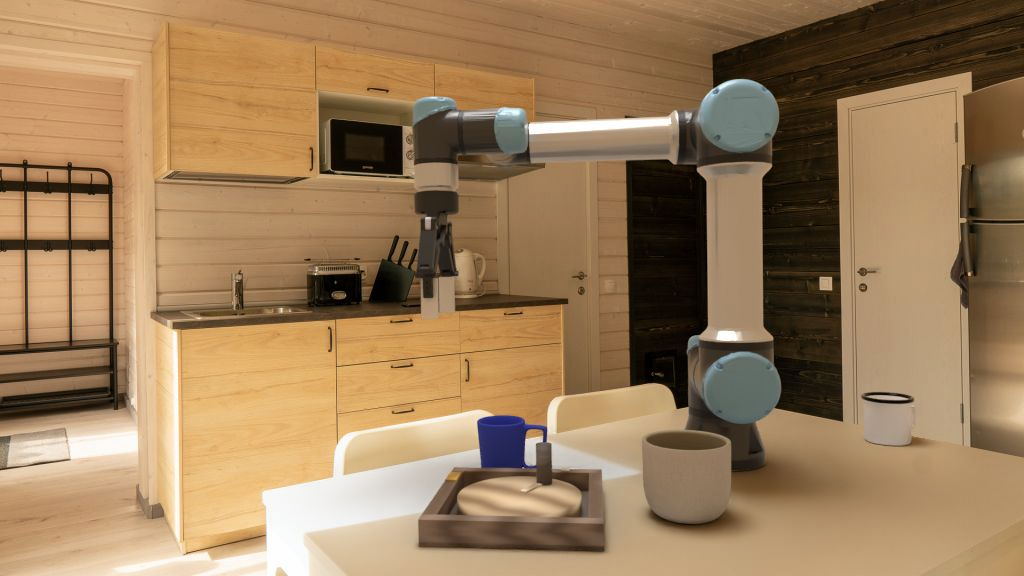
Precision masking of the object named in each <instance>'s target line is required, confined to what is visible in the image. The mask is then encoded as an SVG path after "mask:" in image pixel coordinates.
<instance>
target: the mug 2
mask: <svg viewBox="0 0 1024 576" xmlns="http://www.w3.org/2000/svg"><path fill="white" fill-rule="evenodd" d="M860 398H861V399H862V400H863V439H864V440H865V441H867V442H869V443H871V444H874V445H880V446H888V447H903V446H907V445H910V444H911V443H912V429H914V428H915V427H916V424H917V408H916V406H915V405H913V404H912V403H914V402H915V397H914V396H913V395H908V394H905V393H900V392H899V393H898V392H889V391H869V392H864V393H861V395H860Z"/></svg>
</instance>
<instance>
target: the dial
mask: <svg viewBox="0 0 1024 576" xmlns="http://www.w3.org/2000/svg"><path fill="white" fill-rule="evenodd" d="M552 456H553V450H552V443H551V442H548V441H547V442H543V441H541V442H537V443H535V465H536V477H533V476H513V477H501V478H494V479H488V480H484V481H480V482H476V483H474V484H471V485H469V486H467V487H465V488H463V489H462V490H461V491H460V492H459V493H458V496H457V505H458V515H479V516H526V517H573V518H580V516H581V514H582V495H581V492H580V490H579V489H578V488H576V487H575V486H573V485H571V484H569V483H566V482H563V481H560V480H556V479H552V469H553V457H552Z"/></svg>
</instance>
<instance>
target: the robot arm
mask: <svg viewBox="0 0 1024 576" xmlns="http://www.w3.org/2000/svg"><path fill="white" fill-rule="evenodd" d="M702 99H703V100H702V101H701V103H700V106H697V107H693V108H688V109H675V110H673V111H672V112H671V113H670V114H668V116H650V117H626V118H624V117H623V118H621V117H620V118H602V119H601V118H600V119H598V118H597V119H580V120H579V119H578V120H577V119H576V120H554V121H552V120H551V121H533V122H531V121H530V122H529V121H528V116H527V113H526V110H525V109H523V108H521V107H520V108H519V107H516V108H515V107H507V106H505V107H504V106H503V107H501V108H500V107H499V108H484V109H483V108H482V109H480V108H479V109H462V110H461V109H459V108H458V106H457V102H456V100H454V99H453V98H450V97H446V96H426V97H422V98H421V97H420V98H419V99H417V100H416V101H415V102H414V103H413V107H412V108H413V109H412V125H411V130H412V144H413V145H412V147H413V172H411V173H410V177H411V179H414V180H413V185H414V186H413V187H414V188H413V189H415V190H416V191H417V192H415V194H414V195H413V196H414V197H413V198H414V199H413V200H414V201H413V203H414V213H415V214H416V215H418V216H422V217H420V221H419V222H420V232H419V233H420V234H419V243H418V253H417V262H416V269H415V271H414V279H420V280H419V281H420V312H421V313H420V315H421V316H420V318H421V319H422V320H425V319H426V320H435V319H436V320H437V319H439V318H440V317H439V316H440V315H439V314H455V313H456V301H455V300H456V299H455V297H456V296H455V295H456V294H455V288H456V287H455V277H459V271H460V270H457V264H456V255H455V246H454V245H455V244H454V238H453V223H452V221H448V218H447V217H448V216H451V215H452V216H453V215H457V214H459V211H460V208H459V207H460V206H459V205H460V203H459V201H460V200H459V197H460V196H459V193H458V192H457V191H456V190H457V189H459V187H460V186H459V185H460V184H459V183H460V182H459V164H458V162H459V161H458V160H459V159H458V157H459V156H477V155H478V156H485V157H486V159H487V160H488V161H490V163H492V164H493V165H495V166H496V167H500V168H511V167H514V166H516V165H529V164H552V163H553V164H555V163H557V164H558V163H583V162H586V163H587V162H614V161H645V160H647V161H649V160H669V162H671V163H672V164H673V165H696V171H697V173H699V175H700V176H701V177H703V179H704V180H705V181H706V240H707V241H706V245H707V247H706V249H707V250H706V251H707V253H706V254H707V262H706V263H707V327H706V329H705V330H704V331H702V333H701V334H698V335H693V336H691V337H690V338H688V342H687V349H686V355H687V374H688V375H687V377H688V378H687V384H688V385H687V387H688V389H687V396H688V397H687V398H688V415H687V416H688V417H687V421H686V424H685V427H684V430H695V431H704V432H710V433H715V434H718V435H722V436H724V437H726V438H728V439H729V440H730V441H731V472H740V471H750V470H754V469H756V470H757V469H759V468H761V467H763V466H765V465H766V449H765V446H764V443H763V439H762V436H761V435H760V431H759V428H758V425H757V422H758V421H760V420H762V419H764V418H766V417H767V416H768V415H770V413H772V411H773V410H775V407H776V406H777V404H778V403H779V400H780V398H781V394H782V383H781V382H782V381H781V377H780V374H779V373H778V370H777V368H776V367H775V363H774V361H775V360H774V359H775V358H774V356H775V355H774V351H775V350H774V337H773V335H771V333H770V332H769V331H767V329H766V328H765V327H764V279H763V278H764V275H763V274H764V271H763V270H764V268H763V267H764V266H763V265H764V264H763V263H764V262H763V259H764V258H763V257H764V256H763V252H764V251H763V250H764V249H763V248H764V247H763V177H764V176H765V175H766V174H767V173H768V172H769V171H770V170H771V168H772V167H773V138H774V136H775V134H776V132H777V128H779V127H778V125H779V121H780V109H779V105H778V103H777V100H776V98H775V97H774V95H773V93H772V92H771V91H770V90H769V89H767V88H766V87H765V86H764V85H763V84H760V83H759V82H756V81H754V80H751V79H745V78H740V79H737V78H736V79H731V80H730V79H729V80H727V81H724V82H723V83H721V84H719V85H717V86H716V87H714V88H712V89H711V90H710V91H709V92H708V93H707V94H706V95H705V97H704V98H702ZM423 216H424V217H423ZM438 270H439V271H438ZM437 271H438V272H439V277H436V276H437V273H438V272H437Z"/></svg>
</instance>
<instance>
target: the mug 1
mask: <svg viewBox="0 0 1024 576" xmlns="http://www.w3.org/2000/svg"><path fill="white" fill-rule="evenodd" d="M476 424H477V425H476V426H477V436H478V447H479V455H480V456H479V458H480V466H481V467H480V468H536V464H535V465H528V464H527V463H526V459H525V458H526V457H525V456H526V440H527V439H526V438H527V432H528V431H531V430H539V431H542V442H548V427H547V426H546V425H541V424H530V423H529V424H528V423H526V420H525V418H523V417H521V416H516V415H509V414H505V415H503V414H501V415H500V414H499V415H490V416H484V417H481V418H479V419H477V421H476Z"/></svg>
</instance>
